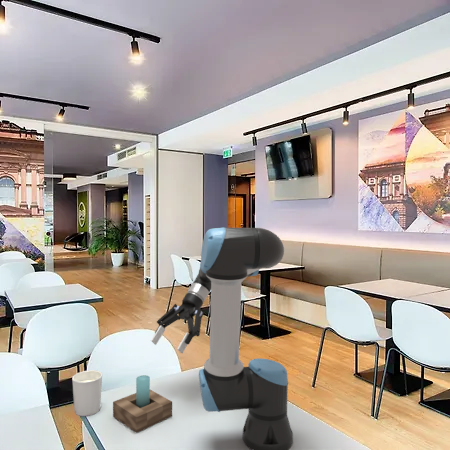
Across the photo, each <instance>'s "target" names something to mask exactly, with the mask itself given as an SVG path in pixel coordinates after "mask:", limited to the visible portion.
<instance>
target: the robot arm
mask: <svg viewBox="0 0 450 450" xmlns="http://www.w3.org/2000/svg"><path fill="white" fill-rule="evenodd" d="M283 243H284V242H282V240H281V238H280V237H279V236H278V235H277V234H276V233H275V232H273V231H270V230H269V229H265V228H262V227H223V226H222V227H216V228H209V229H207V231H206V232H205V234H204V236H203V241H202V246H201V252H200V257H201V258H200V263H199V269H198V274H197V275H196V278H194V281H193V282H192V283H191V285H190V287H189V289H188V290H187V292H186V293H185V295H184V297H183V298H182V300H181V305H180V306H179V305H177V303H175V304H173V305H172V307H171V308H170V309H169V310H168V311H166V312H165V313H164V314H163V315H162V316H161V317H160V318H159V319H157V321H156V324H158V327H157V328H156V330H155V331H154V334H153V336H152V338H151V339H150V341H151V342H152V344H154V345H155V346H157V344H158V343H159V341H160V339H161V338H162V336H163V334H164V333H165V331H166V328H167V327H168V326H170V325H172V324H173V323H175V322H177V321H179V320H185V321H187V328H188V329H187V330H188V331H187V332H185V334H184V336H183V338H182V339H181V341H180V343H179V344H178V347H177V351H178V352H179V353H180V354H183V353H184V351H185V350H186V347H187V346H188V345H190V343H191V342H192V340H193V338H194V337H200V334H201V326H202V319H203V316H204V312H203V311H202V310H201V308H202V306H203V304H204V302H205V301H206V300H207V298H208V295H209V294H210V318H209V319H210V320H209V321H210V325H209V326H210V328H209V358H207V359H206V360H205V361H204V364H203V368H201V369H199V370H198V379H199V387H200V395H201V401H202V405H203V408H204V410H205V411H206V412H218V413H221V412H226V411H237V410H246V409H247V410H248V414H247V416H246V418H245V422H244V425H243V429H242V441H243V444H244V445H245V446H247V448H249V449H251V450H289V449H290V448H291V447H292V446H293V443H294V441H293V440H294V438H293V437H294V433H293V430H292V427H291V424H290V421H289V416H288V385H289V380H288V379H289V377H288V371H287V369H286V367H285V366H284V365H283V364H281V363H280V362H278V361H275V360H272V359H268V358H261V357H260V358H253V359H251V360H250V361H249V362H248V365H247V366H244V363H243V361H242V360H240V338H241V337H240V336H241V307H242V306H241V305H242V284H243V283H242V282H243V281H244V280H246V279H247V277H256V276H258V275H259V271H260V270H261V269H271V268H273V267H275V266H277V265H279V263H280V262H281V261H282V259H283V257H284V254H285V247H284V244H283ZM194 317H195V318H194ZM288 448H289V449H288Z"/></svg>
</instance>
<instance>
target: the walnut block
mask: <svg viewBox="0 0 450 450" xmlns="http://www.w3.org/2000/svg"><path fill="white" fill-rule="evenodd" d="M112 417H114V419H116V420H118V421H119V422H121V423H122V424H123V425H125V426H126V427H127V428H128V429H129V430H131V431H133V432H134V433H136V434H137V433H139V432H142V431H145V430H146V429H149V428H150V427H153V426H154V425H157V424H159V423H161V422H163V421H165V420H167V419H170V418H171V417H173V401H172V400H171V399H168V398H166V397H165V396H163V395H162V394H159V393H157V392H156V391H153V390H151V389H150V404H149V405H147V406H144V407H142V408H139V407H137V406H136V392H135V393H132V394H129V395H127V396H125V397H122V398H120V399H117V400H114V401H113V402H112Z"/></svg>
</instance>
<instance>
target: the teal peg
mask: <svg viewBox="0 0 450 450" xmlns="http://www.w3.org/2000/svg"><path fill="white" fill-rule="evenodd" d="M135 379H136V380H135V383H136V387H135V388H136V389H135V390H136V391H135V393H136V406H137V407H139V408H142V407H144V406H147V405H149V404H150V390H151V388H150V387H151V386H150V385H151V383H150V382H151V381H150V380H151V379H150V376H149V375H139V376H136V378H135Z"/></svg>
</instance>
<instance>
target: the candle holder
mask: <svg viewBox="0 0 450 450" xmlns="http://www.w3.org/2000/svg"><path fill="white" fill-rule="evenodd" d="M71 378H72V379H71V380H72V394H73V395H72V396H73V408H74V413H75V415H76V416H79V417H88V416H89V417H90V416H93V415H95V414H97V413H98V412H99V411H100V409H101V404H102V403H101V399H102V398H101V397H102V383H103V372H101V371H98V370H84V371H81V372H77V373H75V374H74V375H73V376H72V377H71Z"/></svg>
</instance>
